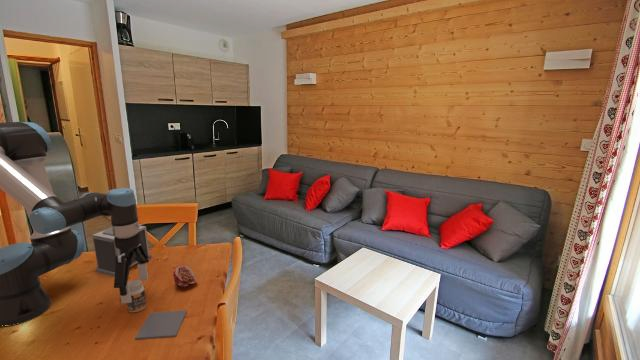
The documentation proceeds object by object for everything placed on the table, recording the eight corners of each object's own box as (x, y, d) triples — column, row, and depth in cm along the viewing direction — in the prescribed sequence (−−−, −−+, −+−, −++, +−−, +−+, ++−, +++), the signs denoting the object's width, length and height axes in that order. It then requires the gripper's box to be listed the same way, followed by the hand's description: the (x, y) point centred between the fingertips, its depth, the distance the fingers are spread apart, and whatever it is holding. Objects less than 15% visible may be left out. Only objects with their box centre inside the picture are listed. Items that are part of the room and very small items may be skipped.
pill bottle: (138, 314, 105) (134, 289, 103) (124, 311, 106) (120, 286, 104) (150, 304, 111) (147, 279, 108) (136, 302, 112) (133, 277, 110)
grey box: (131, 253, 148) (126, 217, 144) (153, 257, 144) (148, 221, 140) (94, 271, 131) (87, 232, 127) (117, 277, 127) (110, 237, 123)
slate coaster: (135, 339, 94) (134, 338, 94) (150, 314, 106) (150, 312, 105) (175, 336, 96) (175, 334, 95) (186, 311, 107) (186, 310, 107)
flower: (164, 289, 117) (175, 275, 115) (168, 273, 125) (179, 259, 123) (188, 297, 121) (199, 283, 120) (191, 280, 129) (201, 267, 128)
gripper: (120, 250, 90) (130, 312, 95) (153, 220, 114) (160, 271, 119) (93, 251, 89) (104, 314, 94) (132, 221, 113) (140, 272, 118)
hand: (135, 290), depth 107 cm, fingers open, 13 cm apart
